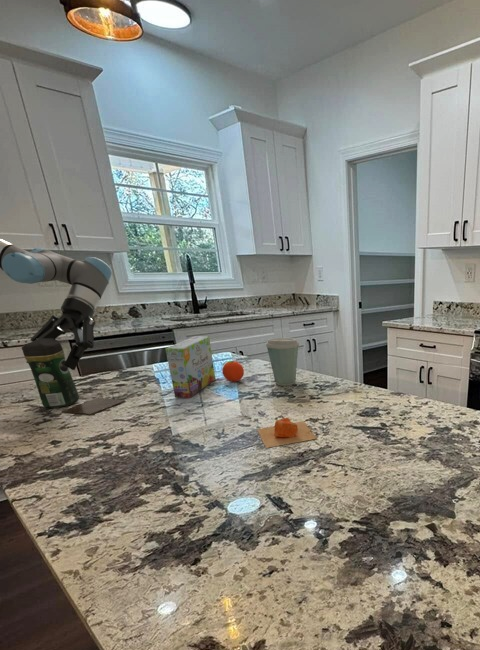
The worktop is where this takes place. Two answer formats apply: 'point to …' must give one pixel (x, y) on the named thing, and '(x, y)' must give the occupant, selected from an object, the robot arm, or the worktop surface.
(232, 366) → the clementine
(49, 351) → the coffee jar
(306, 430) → the orange chunks on board
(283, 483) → the worktop surface
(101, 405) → the walnut coaster
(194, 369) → the snack box
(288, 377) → the disposable coffee cup
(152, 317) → the worktop surface
